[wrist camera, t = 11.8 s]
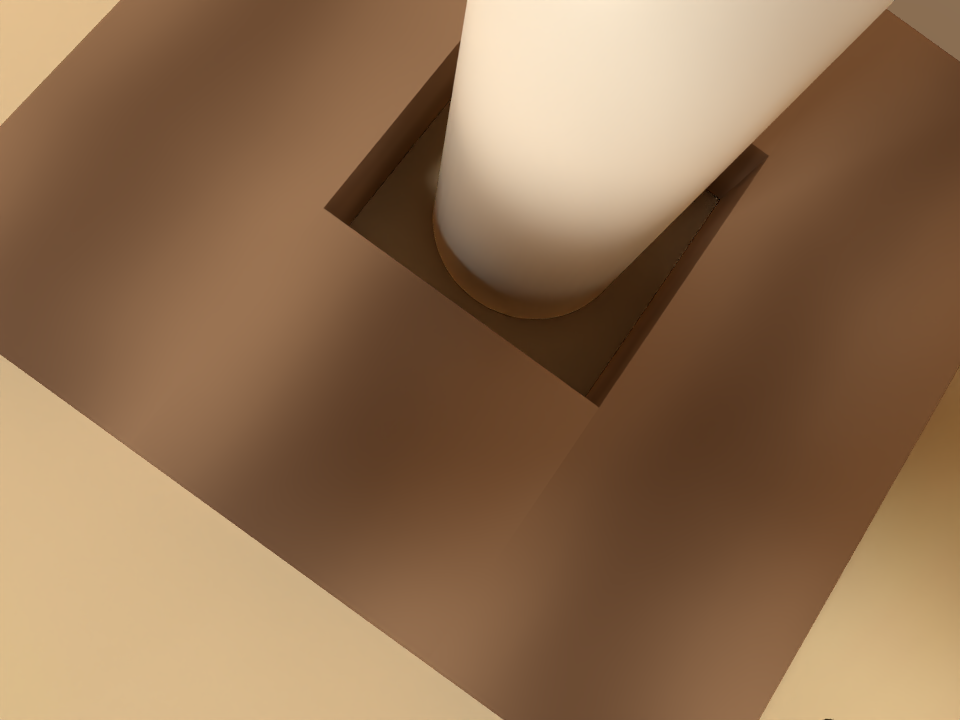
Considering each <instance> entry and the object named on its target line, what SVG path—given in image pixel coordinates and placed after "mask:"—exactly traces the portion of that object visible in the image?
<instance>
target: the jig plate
mask: <svg viewBox="0 0 960 720" xmlns="http://www.w3.org/2000/svg"><path fill="white" fill-rule="evenodd" d="M466 5H467V0H120V1H119V2H118V3H117V4H116V6H115V7H114V8H113V9H112V10H111V11H110V12H109V13H108V14H107V15H106V16H105V17H104V18H103V19H102V20H101V21H100V22H99V23H98V24H97V25H96V26H95V27H94V29H93V30H92V31H91V32H90V33H89V34H88V35H87V36H86V37H85V38H84V39H83V40H82V41H81V42H80V43H79V44H78V45H77V46H76V47H75V48H74V49H73V51H72V52H71V53H70V54H69V55H68V56H67V57H66V58H65V59H64V60H63V61H62V62H61V63H60V64H59V65H58V66H57V67H56V68H55V69H54V70H53V71H52V73H51V74H50V75H49V76H48V77H47V78H46V79H45V80H44V81H43V82H42V83H41V84H40V85H39V86H38V87H37V88H36V89H35V90H34V91H33V92H32V93H31V95H30V96H29V97H28V98H27V99H26V100H25V101H24V102H23V103H22V104H21V105H20V106H19V107H18V108H17V109H16V110H15V111H14V112H13V113H12V114H11V115H10V117H9V118H8V119H7V120H6V121H5V122H4V123H3V124H2V125H1V126H0V354H1V355H2V356H3V357H5V358H6V359H7V360H9V361H10V362H12V363H13V364H14V365H16V366H17V367H18V368H20V369H21V370H23V371H24V372H25V373H27V374H28V375H29V376H31V377H32V378H34V379H35V380H36V381H38V382H39V383H40V384H42V385H43V386H45V387H46V388H47V389H49V390H50V391H52V392H53V393H54V394H56V395H57V396H58V397H60V398H61V399H63V400H64V401H65V402H67V403H68V404H69V405H71V406H72V407H74V408H75V409H76V410H78V411H79V412H80V413H82V414H83V415H85V416H86V417H87V418H89V419H90V420H91V421H93V422H94V423H96V424H97V425H98V426H100V427H101V428H102V429H104V430H105V431H107V432H108V433H109V434H111V435H112V436H114V437H115V438H116V439H118V440H119V441H120V442H122V443H123V444H125V445H126V446H127V447H129V448H130V449H131V450H133V451H134V452H136V453H137V454H138V455H140V456H141V457H142V458H144V459H145V460H147V461H148V462H149V463H151V464H152V465H153V466H155V467H156V468H158V469H159V470H160V471H162V472H163V473H165V474H166V475H167V476H169V477H170V478H171V479H173V480H174V481H176V482H177V483H178V484H180V485H181V486H182V487H184V488H185V489H187V490H188V491H189V492H191V493H192V494H193V495H195V496H196V497H198V498H199V499H200V500H202V501H203V502H204V503H206V504H207V505H209V506H210V507H211V508H213V509H214V510H215V511H217V512H218V513H220V514H221V515H222V516H224V517H225V518H227V519H228V520H229V521H231V522H232V523H233V524H235V525H236V526H238V527H239V528H240V529H242V530H243V531H244V532H246V533H247V534H249V535H250V536H251V537H253V538H254V539H255V540H257V541H258V542H260V543H261V544H262V545H264V546H265V547H266V548H268V549H269V550H271V551H272V552H273V553H275V554H276V555H277V556H279V557H280V558H282V559H283V560H284V561H286V562H287V563H289V564H290V565H291V566H293V567H294V568H295V569H297V570H298V571H300V572H301V573H302V574H304V575H305V576H306V577H308V578H309V579H311V580H312V581H313V582H315V583H316V584H317V585H319V586H320V587H322V588H323V589H324V590H326V591H327V592H328V593H330V594H331V595H333V596H334V597H335V598H337V599H338V600H340V601H341V602H342V603H344V604H345V605H346V606H348V607H349V608H351V609H352V610H353V611H355V612H356V613H357V614H359V615H360V616H362V617H363V618H364V619H366V620H367V621H368V622H370V623H371V624H373V625H374V626H375V627H377V628H378V629H379V630H381V631H382V632H384V633H385V634H386V635H388V636H389V637H390V638H392V639H393V640H395V641H396V642H397V643H399V644H400V645H402V646H403V647H404V648H406V649H407V650H408V651H410V652H411V653H413V654H414V655H415V656H417V657H418V658H419V659H421V660H422V661H424V662H425V663H426V664H428V665H429V666H430V667H432V668H433V669H435V670H436V671H437V672H439V673H440V674H441V675H443V676H444V677H446V678H447V679H448V680H450V681H451V682H453V683H454V684H455V685H457V686H458V687H459V688H461V689H462V690H464V691H465V692H466V693H468V694H469V695H470V696H472V697H473V698H475V699H476V700H477V701H479V702H480V703H481V704H483V705H484V706H486V707H487V708H488V709H490V710H491V711H492V712H494V713H495V714H497V715H498V716H499V717H501V718H502V719H503V720H759V719H760V717H761V715H762V713H763V712H764V710H765V708H766V706H767V705H768V703H769V701H770V699H771V697H772V696H773V694H774V692H775V690H776V689H777V687H778V685H779V683H780V682H781V680H782V678H783V676H784V675H785V673H786V671H787V669H788V667H789V666H790V664H791V662H792V660H793V659H794V657H795V655H796V653H797V652H798V650H799V648H800V646H801V645H802V643H803V641H804V639H805V638H806V636H807V634H808V632H809V630H810V629H811V627H812V625H813V623H814V622H815V620H816V618H817V616H818V615H819V613H820V611H821V609H822V608H823V606H824V604H825V602H826V600H827V599H828V597H829V595H830V593H831V592H832V590H833V588H834V586H835V585H836V583H837V581H838V579H839V578H840V576H841V574H842V572H843V570H844V569H845V567H846V565H847V563H848V562H849V560H850V558H851V556H852V555H853V553H854V551H855V549H856V548H857V546H858V544H859V542H860V541H861V539H862V537H863V535H864V533H865V532H866V530H867V528H868V526H869V525H870V523H871V521H872V519H873V518H874V516H875V514H876V512H877V511H878V509H879V507H880V505H881V503H882V502H883V500H884V498H885V496H886V495H887V493H888V491H889V489H890V488H891V486H892V484H893V482H894V481H895V479H896V477H897V475H898V473H899V472H900V470H901V468H902V466H903V465H904V463H905V461H906V459H907V458H908V456H909V454H910V452H911V451H912V449H913V447H914V445H915V444H916V442H917V440H918V438H919V436H920V435H921V433H922V431H923V429H924V428H925V426H926V424H927V422H928V421H929V419H930V417H931V415H932V414H933V412H934V410H935V408H936V406H937V405H938V403H939V401H940V399H941V398H942V396H943V394H944V392H945V391H946V389H947V387H948V385H949V384H950V382H951V380H952V378H953V377H954V375H955V373H956V371H957V369H958V368H959V366H960V62H959V61H958V60H957V59H955V58H954V57H952V56H951V55H950V54H948V53H947V52H946V51H944V50H943V49H941V48H940V47H939V46H937V45H936V44H934V43H933V42H932V41H930V40H929V39H927V38H926V37H925V36H923V35H922V34H920V33H919V32H918V31H916V30H915V29H914V28H912V27H911V26H909V25H908V24H907V23H905V22H904V21H902V20H901V19H900V18H898V17H897V16H895V15H894V14H893V13H891V12H890V11H889V10H887V9H886V10H885V11H884V12H883V13H882V14H881V15H880V16H879V17H878V18H877V19H876V20H875V21H874V22H873V23H872V24H871V25H870V26H869V27H868V28H867V29H866V30H865V31H864V32H863V33H862V34H861V35H860V36H859V37H858V38H857V39H856V40H855V41H854V42H853V43H852V44H851V45H850V46H849V47H848V48H847V49H846V50H845V51H844V52H843V53H842V54H841V55H840V56H839V57H838V58H836V59H835V60H834V61H833V62H832V63H831V64H830V65H829V66H828V67H827V68H826V69H825V70H824V71H823V72H822V73H821V74H820V75H819V76H818V77H817V78H816V79H815V80H814V81H813V82H812V83H811V84H810V85H809V86H808V87H807V88H806V89H805V90H804V91H803V92H802V93H801V94H800V95H799V96H798V97H797V98H796V99H795V100H794V101H793V102H792V103H791V104H790V105H789V106H788V107H787V108H786V109H785V110H784V111H783V112H782V113H781V114H780V115H779V116H778V117H777V118H776V119H775V120H774V121H773V122H772V123H771V124H770V125H769V126H768V127H767V128H766V129H765V130H764V131H763V132H762V133H761V134H760V135H759V136H758V137H757V138H756V139H755V140H754V141H753V142H752V143H751V144H750V145H749V146H748V147H747V148H746V149H745V150H744V151H743V152H742V153H741V154H740V155H739V156H738V157H737V158H736V159H735V160H734V161H733V162H732V163H731V164H730V165H729V166H728V167H727V168H726V169H725V170H724V171H723V172H722V173H721V174H720V175H719V176H718V177H717V178H716V179H715V180H714V181H713V182H712V183H711V184H710V185H709V186H708V187H707V188H706V189H707V190H708V191H710V192H711V193H713V194H714V195H715V196H717V197H718V198H719V199H720V201H719V202H718V204H717V205H716V207H715V208H714V210H713V211H712V213H711V214H710V215H709V217H708V218H707V220H706V221H705V223H704V224H703V226H702V227H701V229H700V230H699V232H698V233H697V235H696V236H695V237H694V239H693V240H692V242H691V243H690V245H689V246H688V248H687V249H686V251H685V252H684V254H683V255H682V256H681V258H680V259H679V261H678V262H677V264H676V265H675V267H674V268H673V270H672V271H671V273H670V274H669V276H668V277H667V278H666V280H665V281H664V283H663V284H662V286H661V287H660V289H659V290H658V292H657V293H656V295H655V296H654V298H653V299H652V300H651V302H650V303H649V305H648V306H647V308H646V309H645V311H644V312H643V314H642V315H641V317H640V318H639V320H638V321H637V322H636V324H635V325H634V327H633V328H632V330H631V331H630V333H629V334H628V336H627V337H626V339H625V340H624V342H623V343H622V344H621V346H620V347H619V349H618V350H617V352H616V353H615V355H614V356H613V358H612V359H611V361H610V362H609V364H608V365H607V366H606V368H605V369H604V371H603V372H602V374H601V375H600V377H599V378H598V380H597V381H596V383H595V384H594V386H593V387H592V388H591V390H590V391H589V393H588V394H587V396H586V397H584V396H583V395H581V394H580V393H578V392H577V391H576V390H574V389H573V388H571V387H570V386H569V385H567V384H566V383H565V382H563V381H562V380H560V379H559V378H558V377H556V376H555V375H554V374H552V373H551V372H549V371H548V370H547V369H545V368H544V367H542V366H541V365H540V364H538V363H537V362H536V361H534V360H533V359H531V358H530V357H529V356H527V355H526V354H524V353H523V352H522V351H520V350H519V349H518V348H516V347H515V346H513V345H512V344H511V343H509V342H508V341H507V340H505V339H504V338H502V337H501V336H500V335H498V334H497V333H495V332H494V331H493V330H491V329H490V328H489V327H487V326H486V325H484V324H483V323H482V322H480V321H479V320H478V319H476V318H475V317H473V316H472V315H471V314H469V313H468V312H466V311H465V310H464V309H462V308H461V307H460V306H458V305H457V304H455V303H454V302H453V301H451V300H450V299H448V298H447V297H446V296H444V295H443V294H442V293H440V292H439V291H437V290H436V289H435V288H433V287H432V286H431V285H429V284H428V283H426V282H425V281H424V280H422V279H421V278H419V277H418V276H417V275H415V274H414V273H413V272H411V271H410V270H408V269H407V268H406V267H404V266H403V265H401V264H400V263H399V262H397V261H396V260H395V259H393V258H392V257H390V256H389V255H388V254H386V253H385V252H384V251H382V250H381V249H379V248H378V247H377V246H375V245H374V244H372V243H371V242H370V241H368V240H367V239H366V238H364V237H363V236H361V235H360V234H359V233H357V232H356V231H354V230H353V229H352V228H350V227H349V225H350V223H351V222H352V221H353V220H354V218H355V217H356V216H357V215H358V213H359V212H360V211H361V210H362V209H363V207H364V206H365V205H366V204H367V202H368V201H369V200H370V199H371V197H372V196H373V195H374V194H375V192H376V191H377V190H378V189H379V187H380V186H381V185H382V184H383V182H384V181H385V180H386V179H387V177H388V176H389V175H390V174H391V172H392V171H393V170H394V169H395V167H396V166H397V165H398V164H399V162H400V161H401V160H402V159H403V157H404V156H405V155H406V154H407V152H408V151H409V150H410V149H411V148H412V146H413V145H414V144H415V143H416V141H417V140H418V139H419V138H420V136H421V135H422V134H423V133H424V131H425V130H426V129H427V128H428V126H429V125H430V124H431V123H432V121H433V120H434V119H435V118H436V116H437V115H438V114H439V113H440V111H441V110H442V109H443V108H444V106H445V105H446V104H447V103H448V101H449V100H450V99H451V98H452V92H453V85H454V79H455V73H456V67H457V61H458V55H459V48H460V42H461V36H462V30H463V24H464V17H465V11H466Z"/></svg>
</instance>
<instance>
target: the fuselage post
mask: <svg viewBox="0 0 960 720" xmlns="http://www.w3.org/2000/svg"><path fill="white" fill-rule="evenodd" d="M894 1H895V0H467V5H466V11H465V17H464V24H463V30H462V36H461V42H460V48H459V55H458V61H457V67H456V73H455V79H454V85H453V92H452V98H451V104H450V110H449V116H448V123H447V129H446V135H445V141H444V147H443V154H442V160H441V166H440V172H439V178H438V184H437V191H436V197H435V203H434V210H433V230H434V238H435V241H436V245H437V249H438V252H439V254H440V257H441V259H442V262H443V263H444V265H445V267H446V269H447V270H448V272H449V274H450V275H451V276H452V277H453V279H454V280H455V281H456V283H457V284H458V285H459V286H460V287H461V288H462V289H463V290H464V291H465V292H466V293H467V294H468V295H470V296H471V297H472V298H474V299H475V300H476V301H478V302H479V303H481V304H483V305H484V306H486V307H488V308H490V309H492V310H494V311H497V312H499V313H502V314H505V315H508V316H512V317H517V318H523V319H547V318H554V317H558V316H563V315H566V314H568V313H571V312H574V311H576V310H578V309H580V308H582V307H584V306H585V305H587V304H589V303H590V302H591V301H593V300H594V299H595V298H597V297H598V296H599V295H600V294H601V293H602V292H603V291H604V290H605V289H606V288H607V287H608V286H609V285H610V284H611V283H612V282H613V281H614V280H615V279H616V278H617V277H618V276H619V275H620V274H621V273H622V272H623V271H624V270H625V269H626V268H627V267H628V266H629V265H630V264H631V263H632V262H633V261H634V260H635V259H636V258H637V257H638V256H639V255H640V254H641V253H642V252H643V251H644V250H645V249H646V248H647V247H648V246H649V245H650V244H651V243H652V242H653V241H654V240H655V239H656V238H657V237H658V236H659V235H660V234H661V233H662V232H663V231H664V230H665V229H666V228H667V227H668V226H669V225H670V224H671V223H672V222H673V221H674V220H675V219H676V218H677V217H678V216H679V215H680V214H681V213H682V212H683V211H684V210H685V209H686V208H687V207H688V206H689V205H690V204H691V203H692V202H693V201H694V200H695V199H696V198H697V197H698V196H699V195H700V194H701V193H702V192H703V191H704V190H705V189H706V188H707V187H708V186H709V185H710V184H711V183H712V182H713V181H714V180H715V179H716V178H717V177H718V176H719V175H720V174H721V173H722V172H723V171H724V170H725V169H726V168H727V167H728V166H729V165H730V164H731V163H732V162H733V161H734V160H735V159H736V158H737V157H738V156H739V155H740V154H741V153H742V152H743V151H744V150H745V149H746V148H747V147H748V146H749V145H750V144H751V143H752V142H753V141H754V140H755V139H756V138H757V137H758V136H759V135H760V134H761V133H762V132H763V131H764V130H765V129H766V128H767V127H768V126H769V125H770V124H771V123H772V122H773V121H774V120H775V119H776V118H777V117H778V116H779V115H780V114H781V113H782V112H783V111H784V110H785V109H786V108H787V107H788V106H789V105H790V104H791V103H792V102H793V101H794V100H795V99H796V98H797V97H798V96H799V95H800V94H801V93H802V92H803V91H804V90H805V89H806V88H807V87H808V86H809V85H810V84H811V83H812V82H813V81H814V80H815V79H816V78H817V77H818V76H819V75H820V74H821V73H822V72H823V71H824V70H825V69H826V68H827V67H828V66H829V65H830V64H831V63H832V62H833V61H834V60H835V59H836V58H838V57H839V56H840V55H841V54H842V53H843V52H844V51H845V50H846V49H847V48H848V47H849V46H850V45H851V44H852V43H853V42H854V41H855V40H856V39H857V38H858V37H859V36H860V35H861V34H862V33H863V32H864V31H865V30H866V29H867V28H868V27H869V26H870V25H871V24H872V23H873V22H874V21H875V20H876V19H877V18H878V17H879V16H880V15H881V14H882V13H883V12H884V11H885V10H886V9H887V8H888V7H889V6H890V5H891V4H892V3H893V2H894Z"/></svg>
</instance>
